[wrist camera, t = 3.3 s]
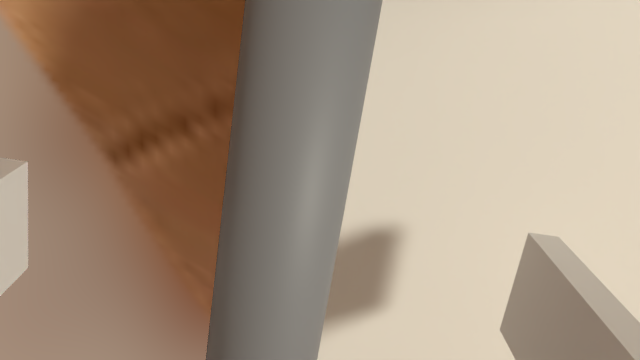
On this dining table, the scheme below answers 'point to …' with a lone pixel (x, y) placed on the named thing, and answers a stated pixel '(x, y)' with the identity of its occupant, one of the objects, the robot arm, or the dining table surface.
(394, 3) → the lid flap
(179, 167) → the dining table surface
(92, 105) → the dining table surface
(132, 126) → the dining table surface
